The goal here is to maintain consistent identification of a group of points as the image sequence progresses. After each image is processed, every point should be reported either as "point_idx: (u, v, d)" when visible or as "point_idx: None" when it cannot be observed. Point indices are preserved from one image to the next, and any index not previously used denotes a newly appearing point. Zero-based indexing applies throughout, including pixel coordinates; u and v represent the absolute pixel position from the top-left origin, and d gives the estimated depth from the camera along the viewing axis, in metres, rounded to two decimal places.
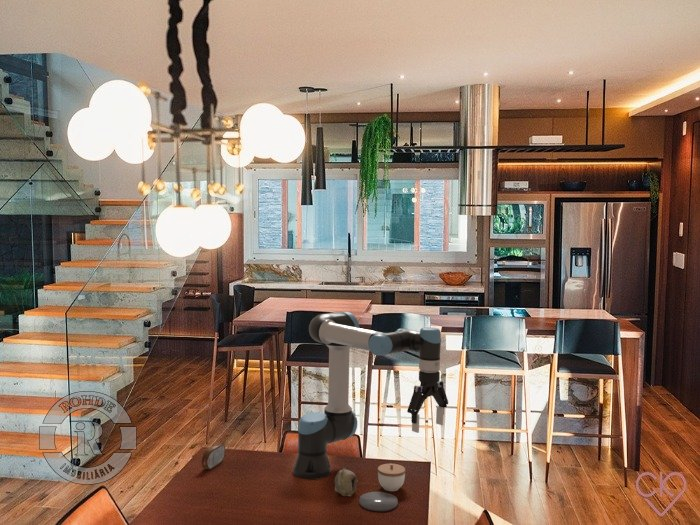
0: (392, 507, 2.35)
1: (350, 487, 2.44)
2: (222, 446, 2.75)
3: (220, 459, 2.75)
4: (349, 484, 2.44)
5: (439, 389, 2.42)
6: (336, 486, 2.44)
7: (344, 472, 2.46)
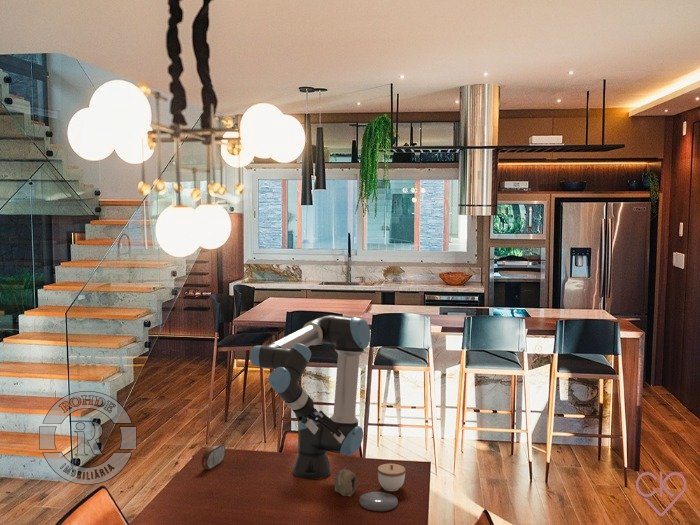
0: (392, 507, 2.35)
1: (350, 487, 2.44)
2: (222, 446, 2.75)
3: (220, 459, 2.75)
4: (349, 484, 2.44)
5: None
6: (336, 486, 2.44)
7: (344, 472, 2.46)
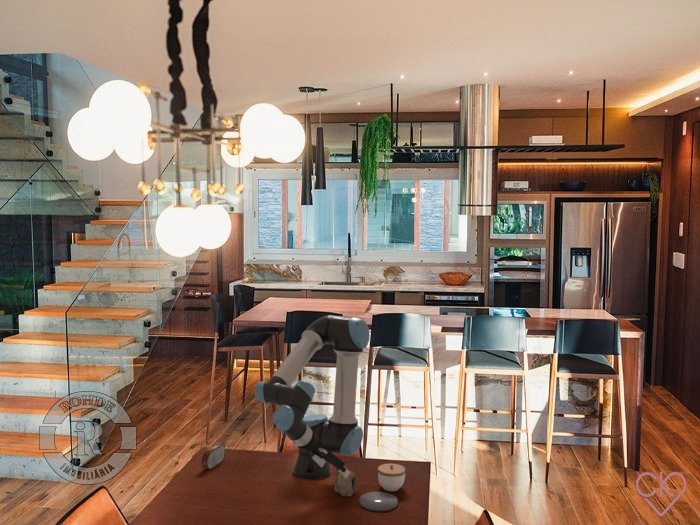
0: (392, 507, 2.35)
1: (350, 487, 2.44)
2: (222, 446, 2.75)
3: (220, 459, 2.75)
4: (349, 484, 2.44)
5: None
6: (336, 486, 2.44)
7: None
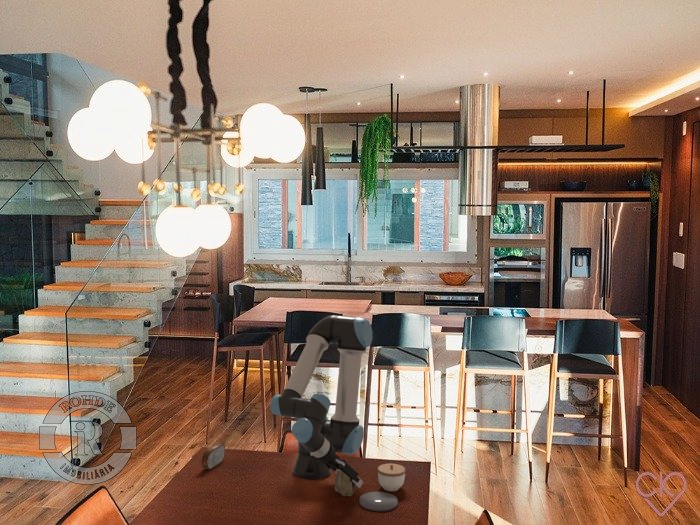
0: (392, 507, 2.35)
1: (350, 487, 2.44)
2: (222, 446, 2.75)
3: (220, 459, 2.75)
4: (349, 484, 2.44)
5: None
6: (337, 486, 2.44)
7: None
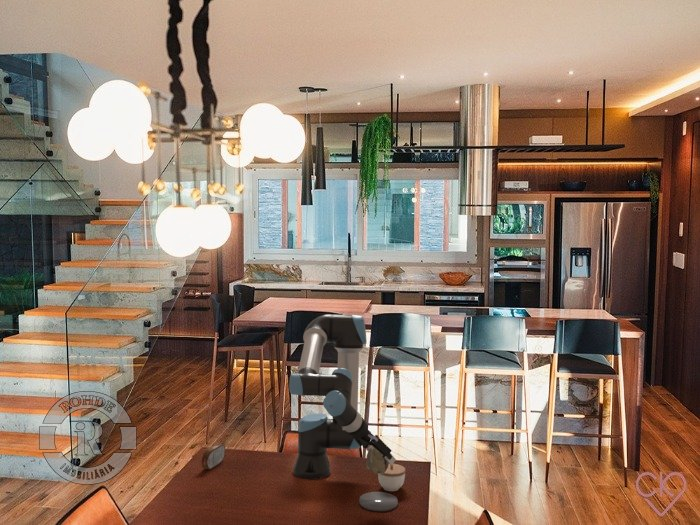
0: (392, 507, 2.35)
1: (383, 464, 2.34)
2: (222, 446, 2.75)
3: (220, 459, 2.75)
4: (382, 461, 2.34)
5: None
6: (368, 463, 2.35)
7: (376, 449, 2.37)
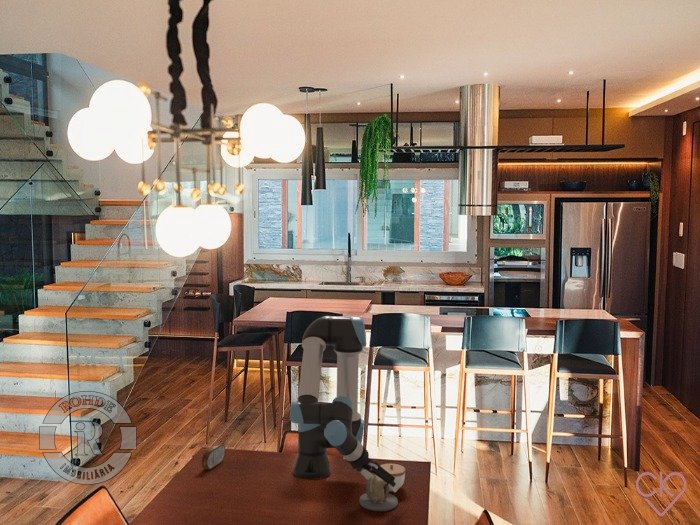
0: (392, 507, 2.35)
1: (382, 494, 2.35)
2: (222, 446, 2.75)
3: (220, 459, 2.75)
4: (381, 491, 2.35)
5: None
6: (368, 492, 2.36)
7: (376, 478, 2.38)
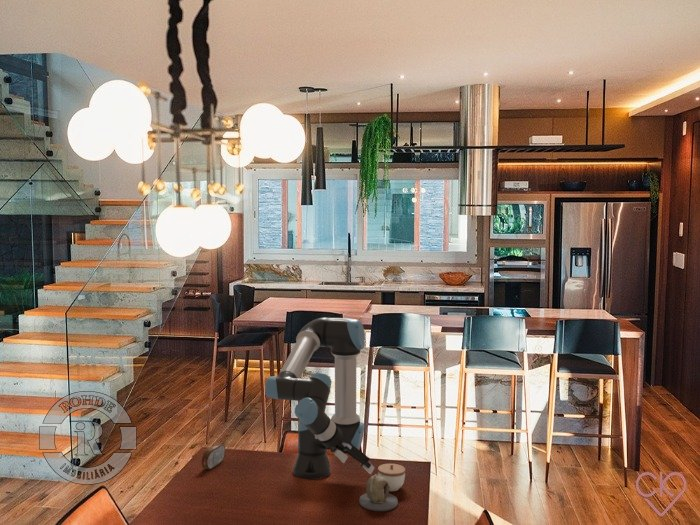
0: (392, 507, 2.35)
1: (382, 494, 2.35)
2: (222, 446, 2.75)
3: (220, 459, 2.75)
4: (381, 491, 2.35)
5: None
6: (368, 492, 2.36)
7: (376, 478, 2.38)
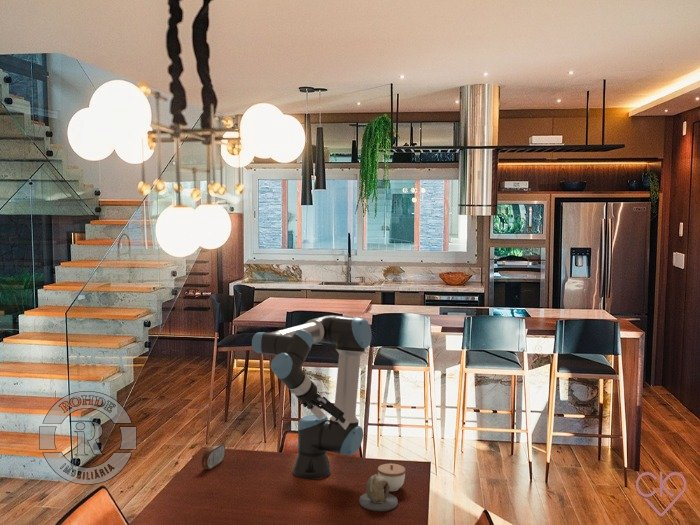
0: (392, 507, 2.35)
1: (382, 494, 2.35)
2: (222, 446, 2.75)
3: (220, 459, 2.75)
4: (381, 491, 2.35)
5: None
6: (368, 492, 2.36)
7: (376, 478, 2.38)
